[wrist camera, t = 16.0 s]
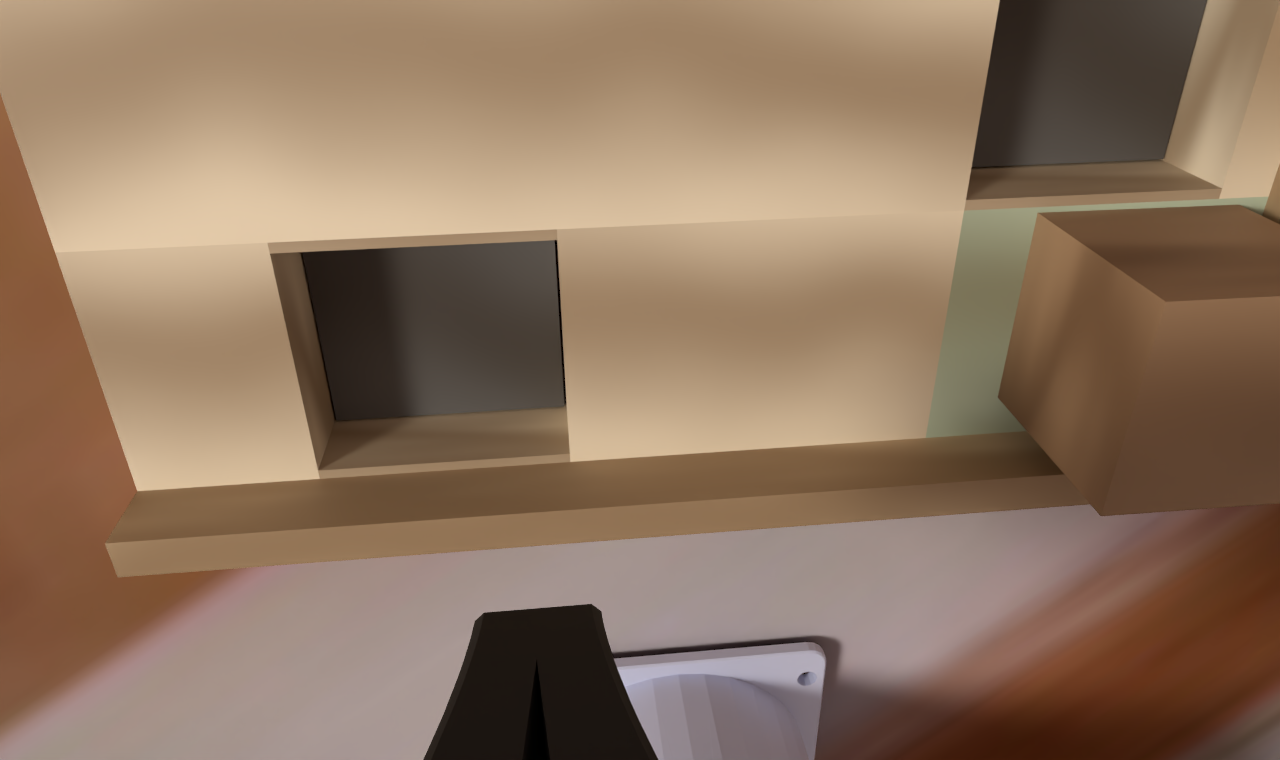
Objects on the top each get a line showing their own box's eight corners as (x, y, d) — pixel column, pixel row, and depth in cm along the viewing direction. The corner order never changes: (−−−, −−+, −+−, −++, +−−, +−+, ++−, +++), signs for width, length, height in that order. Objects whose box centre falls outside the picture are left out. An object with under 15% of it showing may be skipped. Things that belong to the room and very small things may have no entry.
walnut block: (1178, 386, 20) (1319, 500, 16) (997, 397, 19) (1100, 516, 16) (1238, 204, 18) (1413, 289, 14) (1037, 212, 17) (1165, 302, 14)
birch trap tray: (1163, 402, 22) (1266, 491, 19) (181, 466, 20) (117, 576, 17) (1322, -105, 17) (1502, -97, 14) (10, -83, 15) (-127, -68, 12)
